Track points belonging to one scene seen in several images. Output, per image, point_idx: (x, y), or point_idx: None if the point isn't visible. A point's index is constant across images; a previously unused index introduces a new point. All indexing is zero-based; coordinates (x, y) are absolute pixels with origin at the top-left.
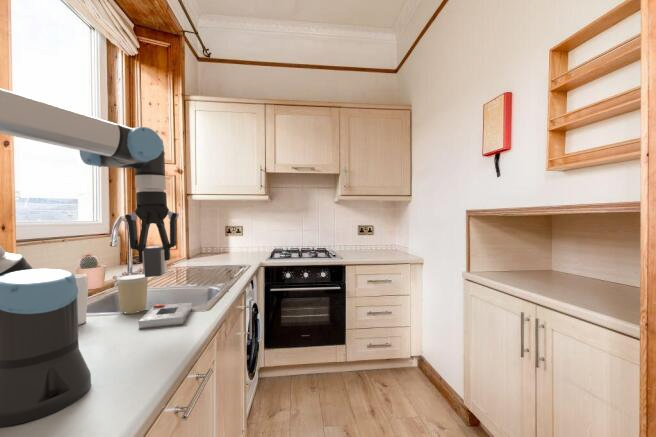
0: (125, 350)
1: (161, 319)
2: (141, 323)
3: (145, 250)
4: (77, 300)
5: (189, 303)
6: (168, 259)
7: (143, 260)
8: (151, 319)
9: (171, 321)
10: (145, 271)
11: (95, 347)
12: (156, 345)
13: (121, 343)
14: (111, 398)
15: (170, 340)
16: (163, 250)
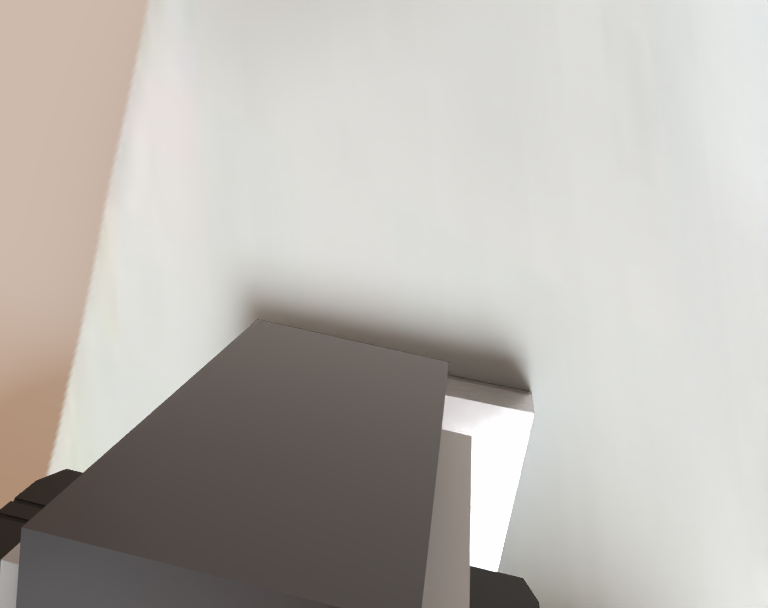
0: (572, 23)
1: None
2: (515, 402)
3: (377, 583)
4: None
5: None
6: (54, 477)
7: (457, 544)
8: (451, 405)
9: None
10: (434, 385)
11: (759, 171)
12: (397, 24)
13: (609, 168)
14: None
15: (321, 75)
16: (7, 556)
